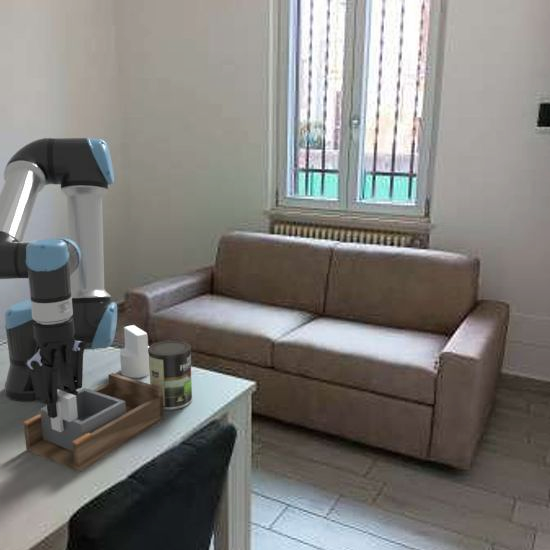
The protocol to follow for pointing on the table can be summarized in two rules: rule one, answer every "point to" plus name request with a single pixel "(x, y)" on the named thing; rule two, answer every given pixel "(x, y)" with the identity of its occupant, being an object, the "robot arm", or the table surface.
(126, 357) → the base with upright slab
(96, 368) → the table surface
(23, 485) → the table surface
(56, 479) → the table surface
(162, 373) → the coffee can
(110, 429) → the bay
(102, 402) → the box
